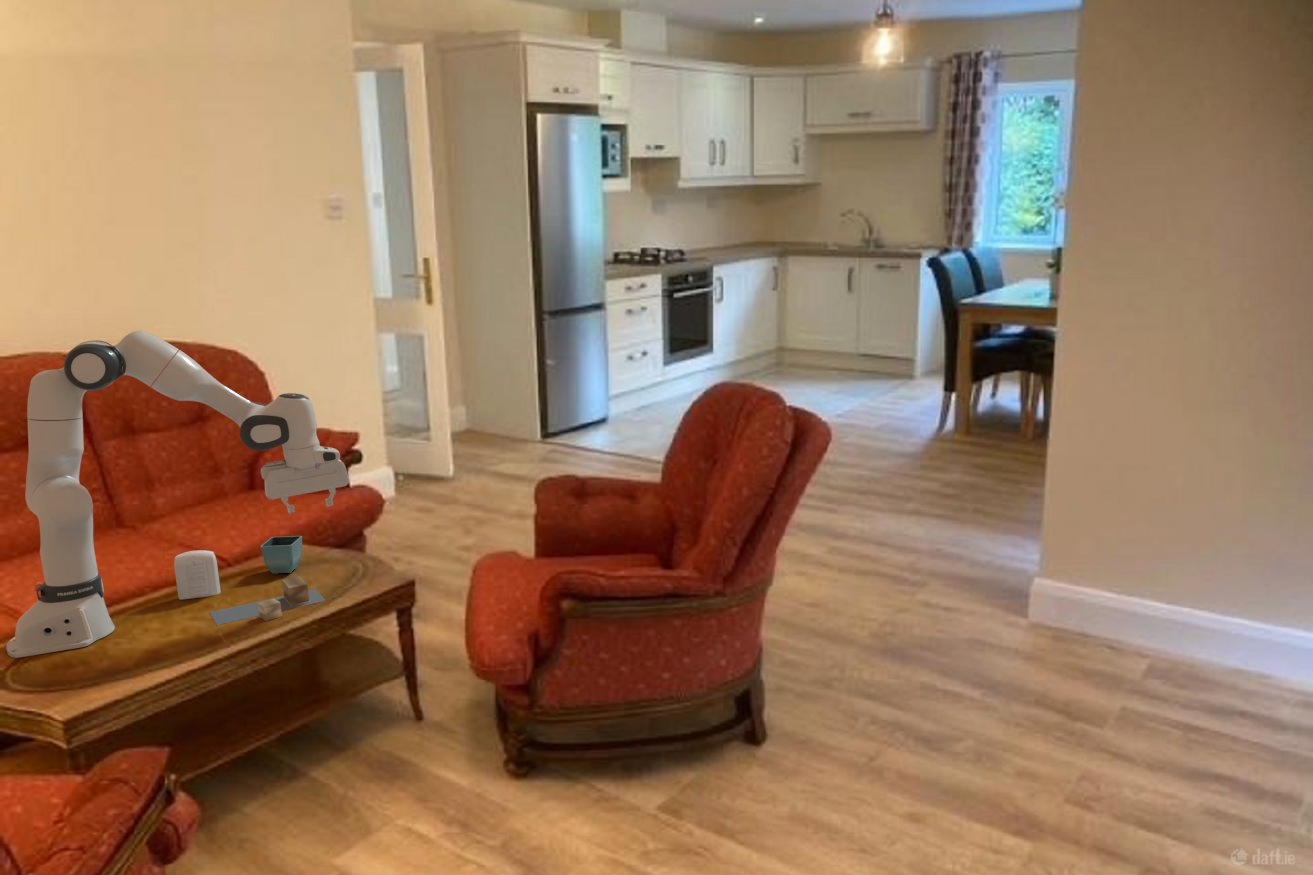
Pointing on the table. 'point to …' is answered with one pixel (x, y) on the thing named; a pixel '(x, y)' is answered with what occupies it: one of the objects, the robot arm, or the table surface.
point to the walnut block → (295, 591)
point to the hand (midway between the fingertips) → (310, 509)
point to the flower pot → (282, 553)
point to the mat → (252, 608)
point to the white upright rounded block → (196, 574)
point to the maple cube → (269, 609)
